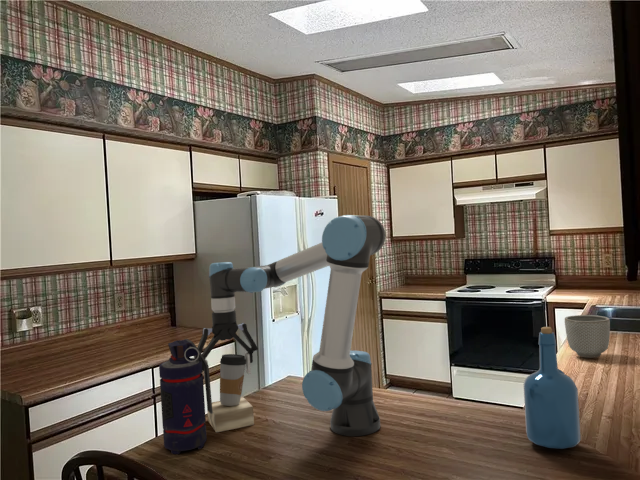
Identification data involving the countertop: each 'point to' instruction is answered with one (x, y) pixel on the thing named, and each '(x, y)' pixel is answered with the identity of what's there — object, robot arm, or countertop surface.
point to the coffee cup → (231, 378)
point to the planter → (588, 334)
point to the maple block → (231, 415)
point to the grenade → (184, 397)
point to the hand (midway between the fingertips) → (227, 377)
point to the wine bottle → (551, 400)
